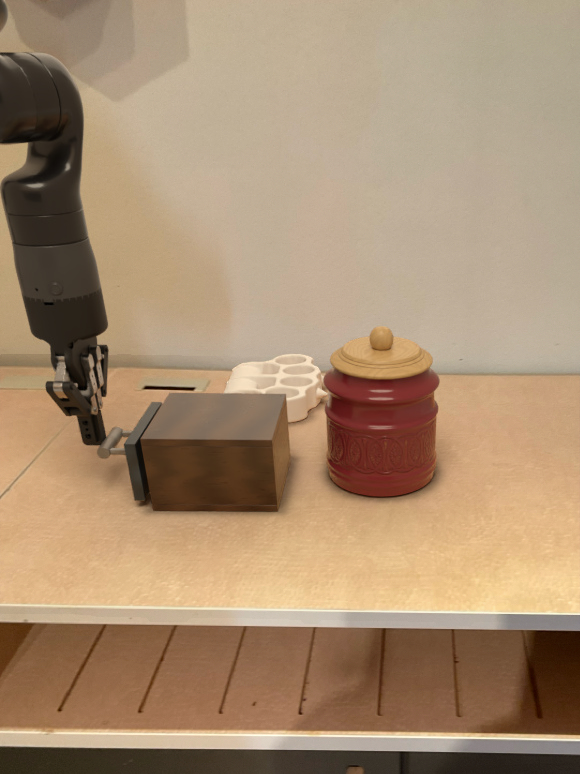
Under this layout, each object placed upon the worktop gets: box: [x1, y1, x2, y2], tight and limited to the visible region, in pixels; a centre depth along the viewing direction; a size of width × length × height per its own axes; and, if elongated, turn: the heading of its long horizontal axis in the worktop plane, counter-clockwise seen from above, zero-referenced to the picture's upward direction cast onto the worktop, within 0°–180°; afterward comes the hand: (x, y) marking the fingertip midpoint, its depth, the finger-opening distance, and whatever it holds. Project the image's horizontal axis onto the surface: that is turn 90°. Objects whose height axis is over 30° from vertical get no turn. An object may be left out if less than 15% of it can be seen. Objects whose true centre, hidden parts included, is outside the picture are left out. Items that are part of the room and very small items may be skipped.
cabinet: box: [140, 392, 292, 512], centre depth 89 cm, size 14×13×9 cm
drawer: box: [96, 401, 163, 502], centre depth 89 cm, size 17×11×7 cm
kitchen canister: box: [323, 325, 441, 497], centre depth 90 cm, size 13×13×18 cm
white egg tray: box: [223, 353, 329, 424], centre depth 113 cm, size 3×18×15 cm
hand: (95, 442), depth 89 cm, fingers closed
